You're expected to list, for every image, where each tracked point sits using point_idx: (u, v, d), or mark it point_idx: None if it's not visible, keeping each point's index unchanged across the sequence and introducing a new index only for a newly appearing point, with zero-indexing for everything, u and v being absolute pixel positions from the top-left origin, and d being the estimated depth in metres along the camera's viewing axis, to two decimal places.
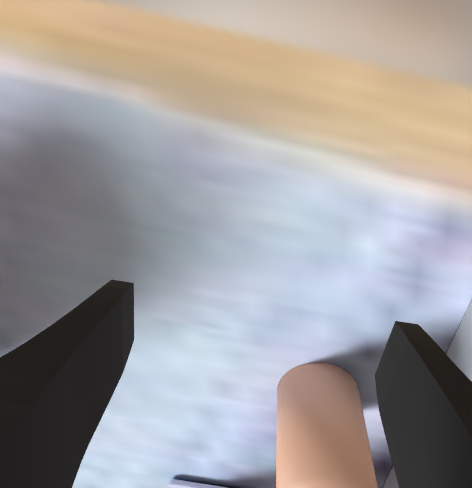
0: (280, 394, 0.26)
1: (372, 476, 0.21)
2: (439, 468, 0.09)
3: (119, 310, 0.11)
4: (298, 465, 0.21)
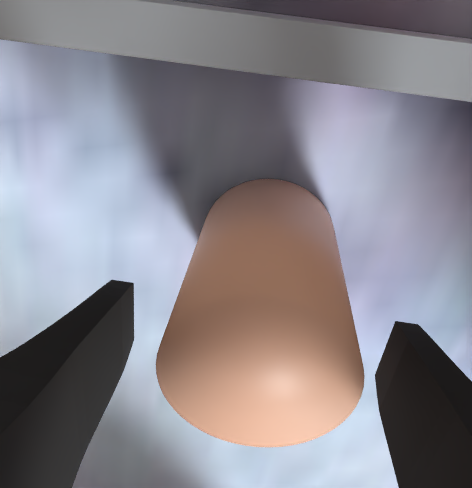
0: None
1: (201, 288, 0.10)
2: (439, 468, 0.09)
3: (119, 310, 0.11)
4: None
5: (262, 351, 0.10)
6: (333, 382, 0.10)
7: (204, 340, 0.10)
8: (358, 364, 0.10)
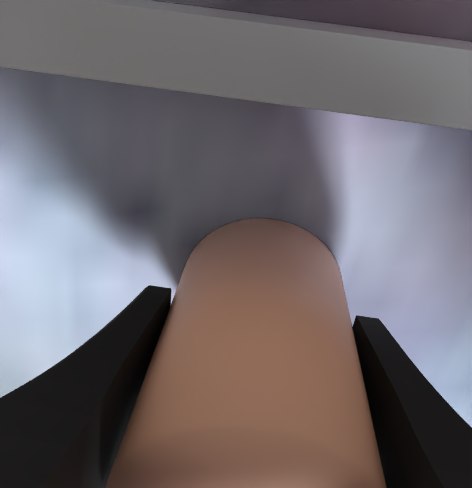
0: None
1: (166, 399, 0.07)
2: (386, 460, 0.09)
3: (160, 316, 0.11)
4: None
5: None
6: None
7: (169, 474, 0.07)
8: None
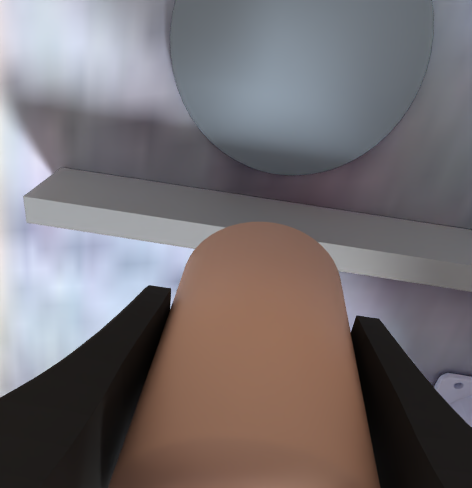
0: None
1: (165, 408, 0.08)
2: (387, 460, 0.09)
3: (160, 316, 0.11)
4: None
5: None
6: None
7: (169, 482, 0.07)
8: None
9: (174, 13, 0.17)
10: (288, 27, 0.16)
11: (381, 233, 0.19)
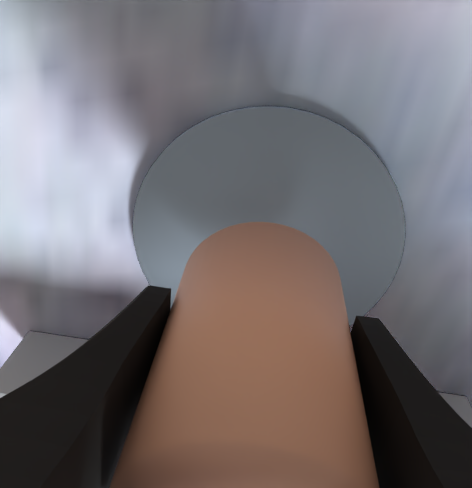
0: None
1: (166, 411, 0.08)
2: (386, 460, 0.09)
3: (160, 316, 0.11)
4: None
5: None
6: None
7: (168, 485, 0.07)
8: None
9: (136, 209, 0.16)
10: None
11: None
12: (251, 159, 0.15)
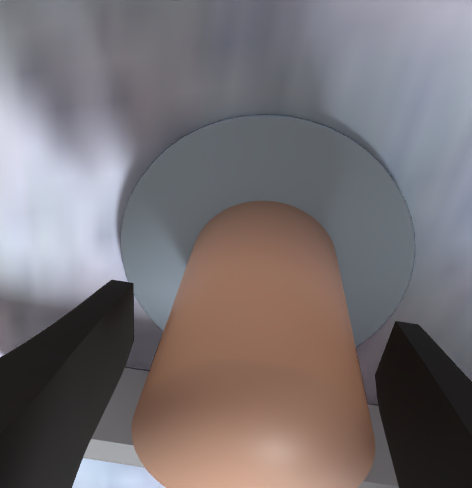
0: None
1: (184, 343, 0.09)
2: (439, 468, 0.09)
3: (119, 310, 0.11)
4: None
5: (255, 419, 0.09)
6: (339, 453, 0.09)
7: (187, 406, 0.08)
8: (369, 435, 0.08)
9: (123, 225, 0.15)
10: None
11: None
12: (248, 172, 0.13)
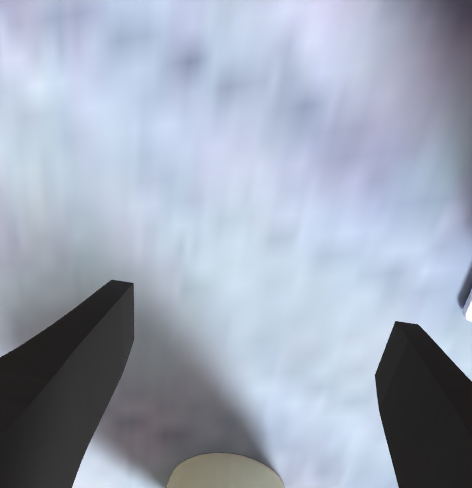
0: None
1: None
2: (439, 468, 0.09)
3: (119, 310, 0.11)
4: None
5: None
6: None
7: None
8: None
9: None
10: None
11: None
12: None
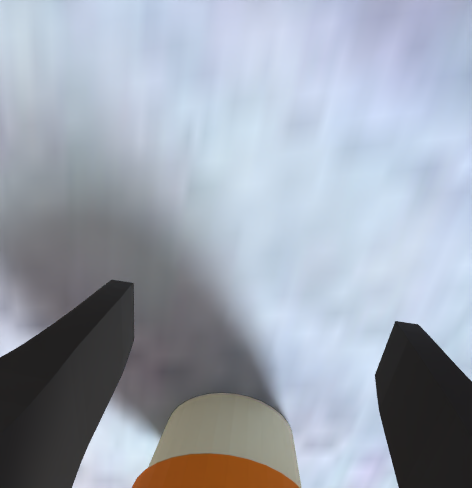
0: None
1: None
2: (439, 468, 0.09)
3: (119, 310, 0.11)
4: None
5: None
6: None
7: None
8: None
9: None
10: None
11: None
12: None
